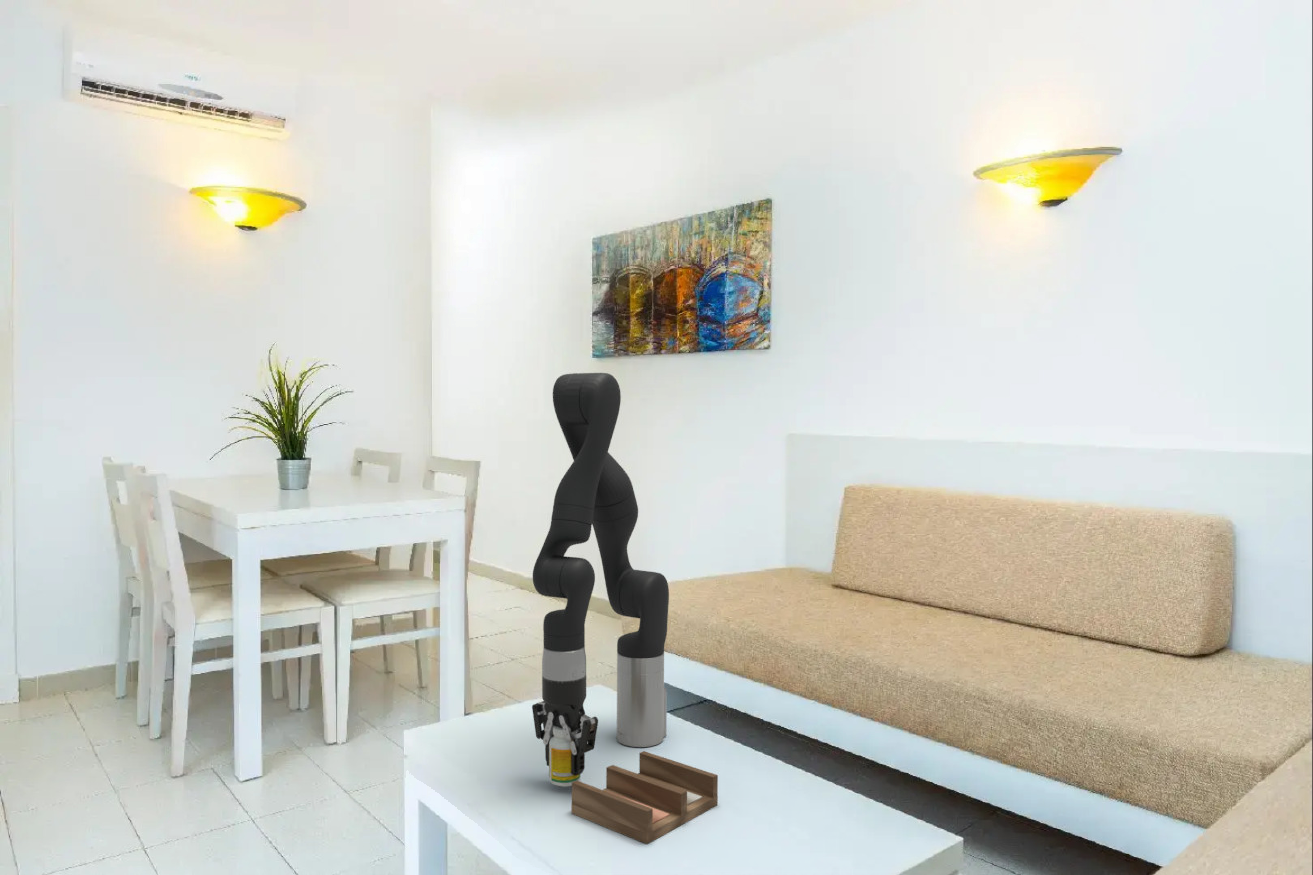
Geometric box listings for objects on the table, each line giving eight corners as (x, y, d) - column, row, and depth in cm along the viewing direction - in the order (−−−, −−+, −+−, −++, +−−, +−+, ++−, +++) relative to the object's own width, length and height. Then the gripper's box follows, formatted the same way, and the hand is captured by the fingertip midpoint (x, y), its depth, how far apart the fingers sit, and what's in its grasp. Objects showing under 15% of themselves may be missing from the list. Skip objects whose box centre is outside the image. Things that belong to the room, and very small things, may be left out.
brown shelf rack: (643, 778, 166) (644, 751, 166) (717, 804, 156) (717, 775, 155) (571, 813, 152) (571, 782, 152) (646, 844, 142) (647, 811, 142)
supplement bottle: (544, 777, 163) (544, 723, 163) (573, 772, 165) (573, 718, 165) (555, 789, 158) (555, 733, 158) (585, 783, 161) (585, 728, 160)
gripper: (610, 675, 159) (610, 773, 160) (550, 659, 168) (551, 752, 169) (579, 686, 153) (579, 788, 154) (519, 669, 163) (519, 765, 163)
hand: (564, 769), depth 162 cm, fingers closed on supplement bottle, 5 cm apart
